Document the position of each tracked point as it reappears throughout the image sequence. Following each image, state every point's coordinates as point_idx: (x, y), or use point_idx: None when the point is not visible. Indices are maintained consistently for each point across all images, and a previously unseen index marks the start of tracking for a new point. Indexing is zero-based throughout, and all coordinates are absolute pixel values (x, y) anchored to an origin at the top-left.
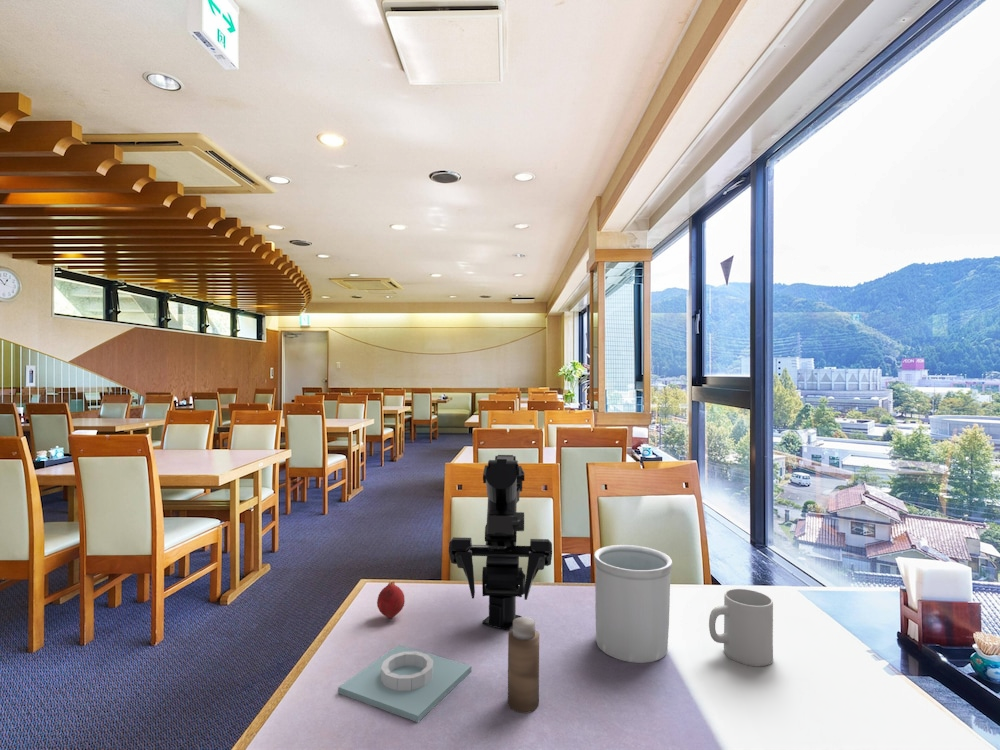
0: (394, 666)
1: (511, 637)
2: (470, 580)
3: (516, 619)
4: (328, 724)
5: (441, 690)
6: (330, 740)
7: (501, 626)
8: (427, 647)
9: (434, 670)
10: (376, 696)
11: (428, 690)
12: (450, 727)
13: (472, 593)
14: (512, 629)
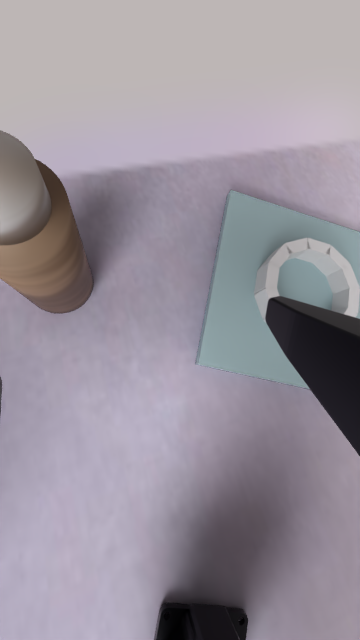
0: (335, 309)
1: (50, 176)
2: (346, 321)
3: (23, 189)
4: (339, 175)
5: (222, 263)
6: (317, 146)
7: (186, 609)
8: (316, 431)
9: (262, 325)
10: (315, 225)
11: (244, 258)
12: (173, 193)
13: (283, 299)
14: (58, 234)
